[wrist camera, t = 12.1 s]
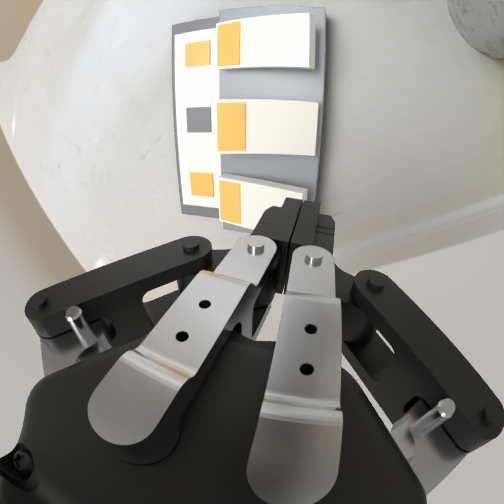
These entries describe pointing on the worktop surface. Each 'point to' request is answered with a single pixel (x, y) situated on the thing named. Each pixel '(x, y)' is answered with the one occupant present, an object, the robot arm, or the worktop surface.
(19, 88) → the worktop surface
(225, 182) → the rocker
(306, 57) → the plate
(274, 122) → the rocker middle
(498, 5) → the grey concrete cylinder
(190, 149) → the switch unit
